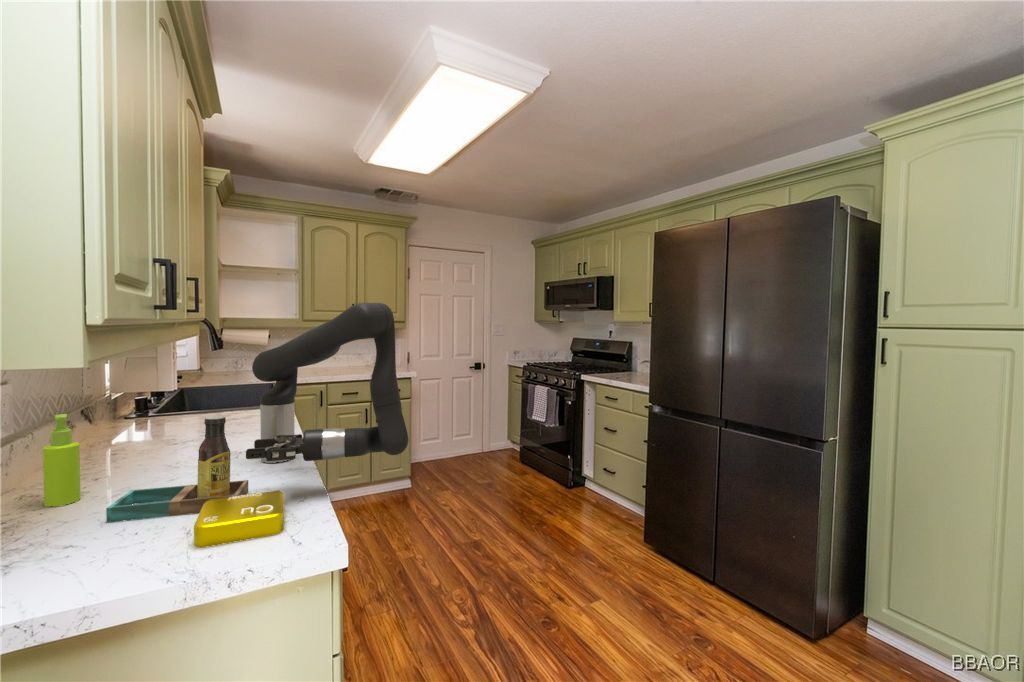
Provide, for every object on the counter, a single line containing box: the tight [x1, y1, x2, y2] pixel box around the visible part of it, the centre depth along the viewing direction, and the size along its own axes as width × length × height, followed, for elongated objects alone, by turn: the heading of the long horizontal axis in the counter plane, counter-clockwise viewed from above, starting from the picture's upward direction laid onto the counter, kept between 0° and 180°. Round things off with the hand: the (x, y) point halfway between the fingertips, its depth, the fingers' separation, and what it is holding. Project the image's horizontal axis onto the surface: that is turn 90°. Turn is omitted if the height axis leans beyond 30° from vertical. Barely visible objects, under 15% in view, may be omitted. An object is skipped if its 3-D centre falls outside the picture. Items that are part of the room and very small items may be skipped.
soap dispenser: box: [42, 413, 82, 507], centre depth 103 cm, size 6×7×20 cm
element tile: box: [193, 490, 285, 548], centre depth 92 cm, size 15×15×5 cm
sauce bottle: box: [197, 415, 231, 498], centre depth 103 cm, size 7×6×20 cm
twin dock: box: [105, 479, 249, 523], centre depth 101 cm, size 11×24×3 cm, turn 109°
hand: (250, 449), depth 105 cm, fingers open, 8 cm apart
